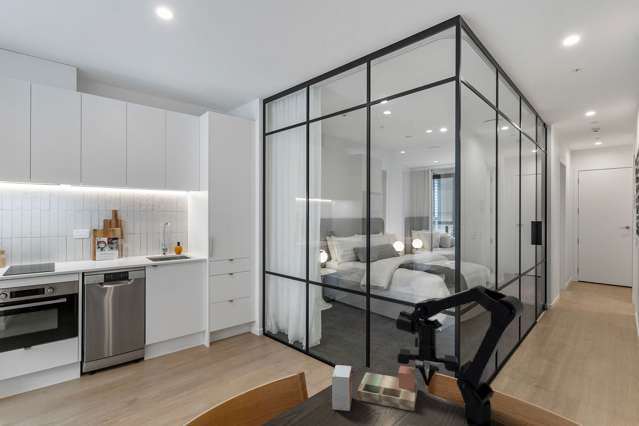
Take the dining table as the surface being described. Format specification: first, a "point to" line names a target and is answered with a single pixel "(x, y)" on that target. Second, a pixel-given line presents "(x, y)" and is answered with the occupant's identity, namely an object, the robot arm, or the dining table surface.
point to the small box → (342, 388)
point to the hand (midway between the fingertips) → (427, 385)
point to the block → (406, 377)
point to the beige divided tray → (386, 392)
